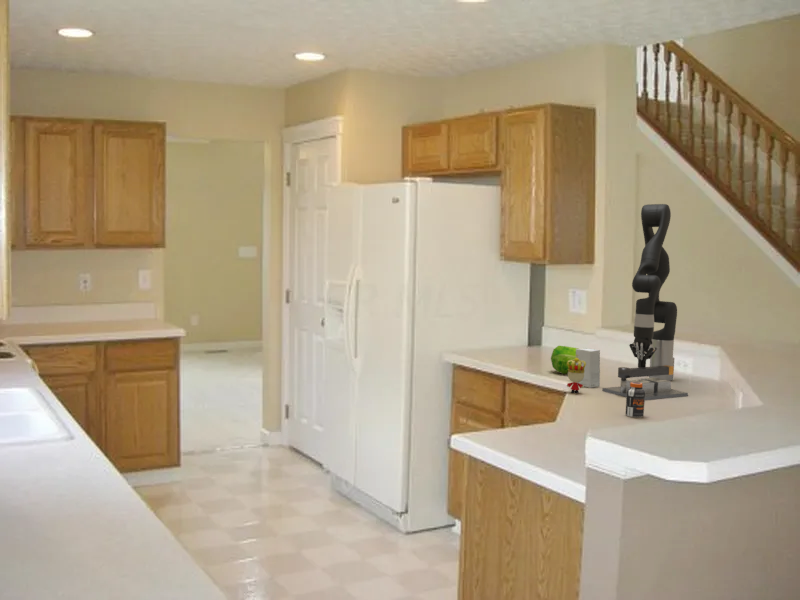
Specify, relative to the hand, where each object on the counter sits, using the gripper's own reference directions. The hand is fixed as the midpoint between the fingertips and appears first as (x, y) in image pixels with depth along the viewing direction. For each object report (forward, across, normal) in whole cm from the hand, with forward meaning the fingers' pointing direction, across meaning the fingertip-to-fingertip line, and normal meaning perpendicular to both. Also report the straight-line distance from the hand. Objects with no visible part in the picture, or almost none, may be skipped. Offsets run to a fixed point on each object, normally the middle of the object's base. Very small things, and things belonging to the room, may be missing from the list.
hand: (641, 369), depth 350 cm
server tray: (+8, -8, +5) cm, 12 cm away
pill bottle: (+8, -37, +40) cm, 55 cm away
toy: (+8, +3, +31) cm, 32 cm away
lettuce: (+8, +38, +1) cm, 39 cm away
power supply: (+7, -8, +9) cm, 14 cm away
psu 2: (+7, -8, 0) cm, 10 cm away
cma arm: (+1, -8, +6) cm, 10 cm away
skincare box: (+8, +13, +16) cm, 22 cm away
